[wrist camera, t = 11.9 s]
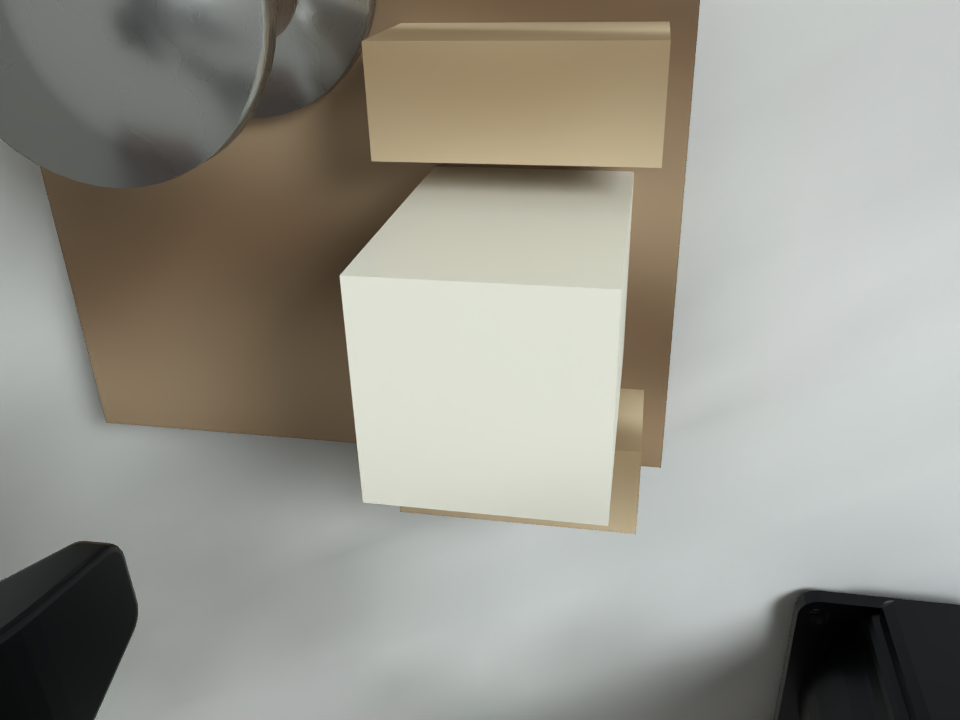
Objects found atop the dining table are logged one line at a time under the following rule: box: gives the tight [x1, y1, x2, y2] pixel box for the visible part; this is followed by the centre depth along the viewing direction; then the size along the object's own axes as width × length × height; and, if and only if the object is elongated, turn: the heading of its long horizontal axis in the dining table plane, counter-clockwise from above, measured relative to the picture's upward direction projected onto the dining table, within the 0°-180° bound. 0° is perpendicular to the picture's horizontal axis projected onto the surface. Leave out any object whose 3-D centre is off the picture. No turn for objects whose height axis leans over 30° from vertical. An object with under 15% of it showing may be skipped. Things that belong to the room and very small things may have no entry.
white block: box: [340, 166, 634, 526], centre depth 16 cm, size 4×4×6 cm
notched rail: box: [362, 22, 671, 534], centre depth 17 cm, size 10×5×2 cm, turn 1°
